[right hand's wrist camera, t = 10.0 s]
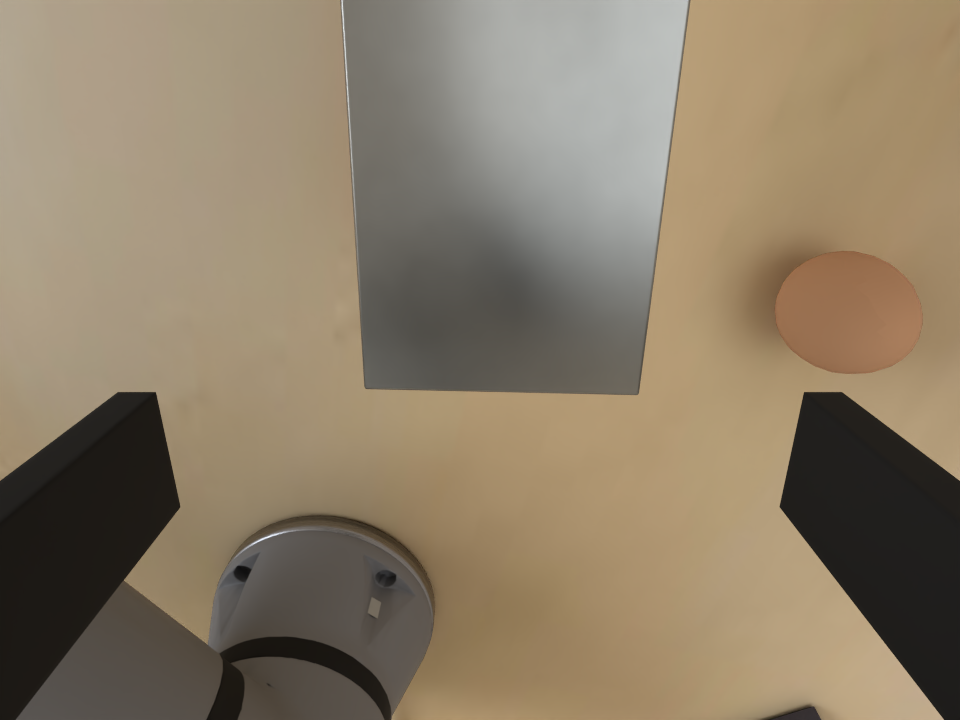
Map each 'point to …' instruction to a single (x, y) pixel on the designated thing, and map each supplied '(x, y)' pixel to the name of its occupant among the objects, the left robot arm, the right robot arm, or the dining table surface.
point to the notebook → (801, 715)
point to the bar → (509, 188)
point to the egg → (848, 313)
